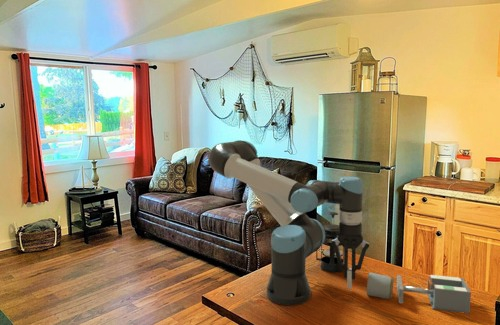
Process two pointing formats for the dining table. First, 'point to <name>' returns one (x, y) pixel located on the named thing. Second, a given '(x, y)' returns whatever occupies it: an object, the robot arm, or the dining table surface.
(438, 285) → the grey bracket housing
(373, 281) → the ceramic mug
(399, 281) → the plunger
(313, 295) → the dining table surface
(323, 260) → the french press
